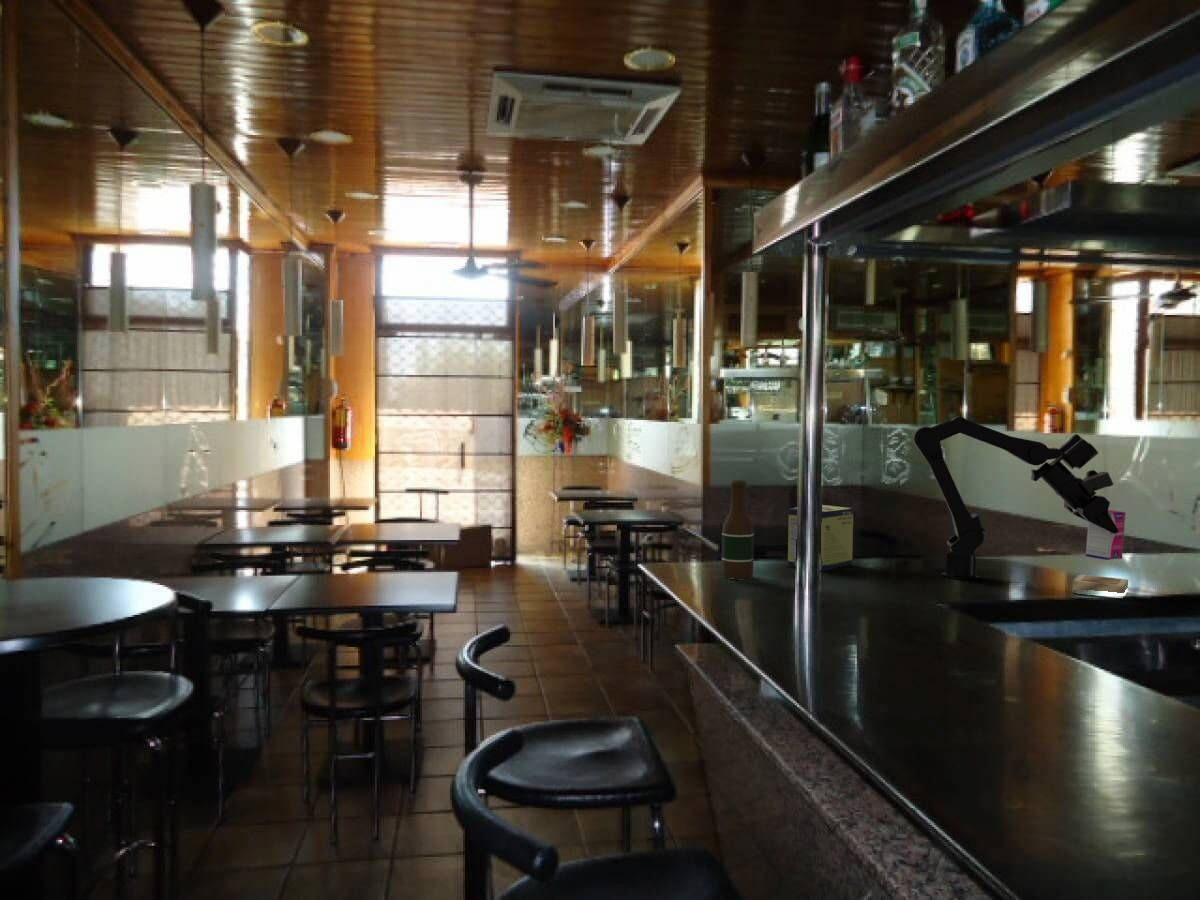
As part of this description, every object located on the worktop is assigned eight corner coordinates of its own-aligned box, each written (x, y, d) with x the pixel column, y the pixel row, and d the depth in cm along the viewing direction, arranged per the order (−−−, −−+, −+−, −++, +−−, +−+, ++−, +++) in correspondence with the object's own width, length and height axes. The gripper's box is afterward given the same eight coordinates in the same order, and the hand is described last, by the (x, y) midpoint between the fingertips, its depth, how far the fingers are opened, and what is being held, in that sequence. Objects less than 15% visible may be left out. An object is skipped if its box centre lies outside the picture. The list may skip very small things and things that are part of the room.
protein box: (853, 565, 241) (854, 507, 240) (820, 572, 230) (821, 511, 229) (819, 560, 248) (820, 504, 248) (786, 566, 238) (787, 508, 237)
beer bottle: (755, 580, 218) (757, 481, 217) (723, 580, 218) (724, 481, 217) (750, 574, 226) (752, 479, 224) (719, 574, 226) (721, 478, 225)
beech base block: (1072, 593, 205) (1072, 580, 205) (1079, 586, 213) (1079, 573, 213) (1122, 599, 199) (1123, 585, 199) (1127, 592, 207) (1128, 578, 207)
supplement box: (1108, 560, 212) (1111, 512, 211) (1085, 556, 217) (1087, 509, 217) (1123, 559, 215) (1126, 511, 214) (1100, 555, 220) (1102, 508, 219)
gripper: (1101, 461, 207) (1153, 512, 204) (1080, 457, 225) (1127, 503, 222) (1062, 494, 209) (1113, 544, 207) (1044, 487, 227) (1090, 533, 225)
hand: (1111, 530), depth 215 cm, fingers closed on supplement box, 8 cm apart
